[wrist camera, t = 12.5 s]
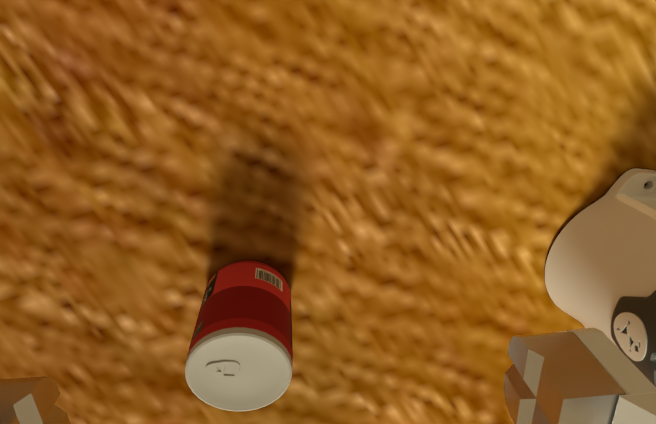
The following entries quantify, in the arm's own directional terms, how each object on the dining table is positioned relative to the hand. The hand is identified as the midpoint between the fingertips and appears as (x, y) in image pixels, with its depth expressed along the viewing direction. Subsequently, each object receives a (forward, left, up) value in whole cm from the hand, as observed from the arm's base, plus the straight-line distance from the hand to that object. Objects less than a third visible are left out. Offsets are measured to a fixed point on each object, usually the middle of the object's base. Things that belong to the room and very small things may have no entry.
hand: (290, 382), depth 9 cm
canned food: (+5, +19, -33) cm, 38 cm away
